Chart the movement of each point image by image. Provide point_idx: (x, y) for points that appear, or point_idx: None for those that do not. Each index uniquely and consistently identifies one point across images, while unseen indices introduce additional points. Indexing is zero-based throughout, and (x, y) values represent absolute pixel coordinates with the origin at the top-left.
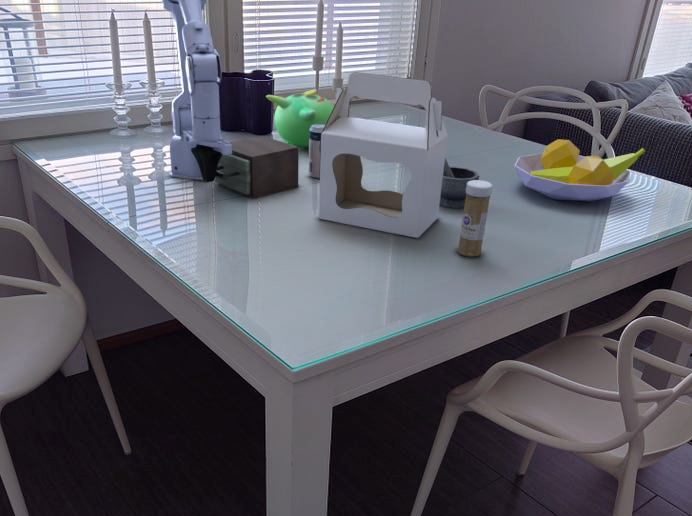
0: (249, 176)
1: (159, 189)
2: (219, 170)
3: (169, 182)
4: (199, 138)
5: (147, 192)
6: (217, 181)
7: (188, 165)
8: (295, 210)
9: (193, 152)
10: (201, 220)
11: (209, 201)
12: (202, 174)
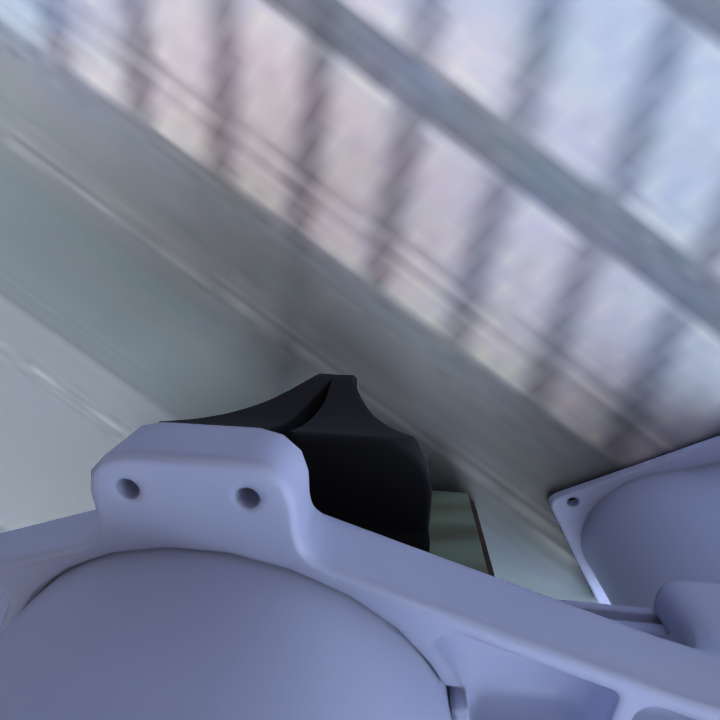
0: None
1: (653, 242)
2: (435, 542)
3: (698, 360)
4: (66, 595)
5: (673, 145)
6: (450, 496)
7: (700, 514)
8: (40, 499)
9: (366, 432)
10: (81, 115)
11: (304, 328)
12: (338, 383)
